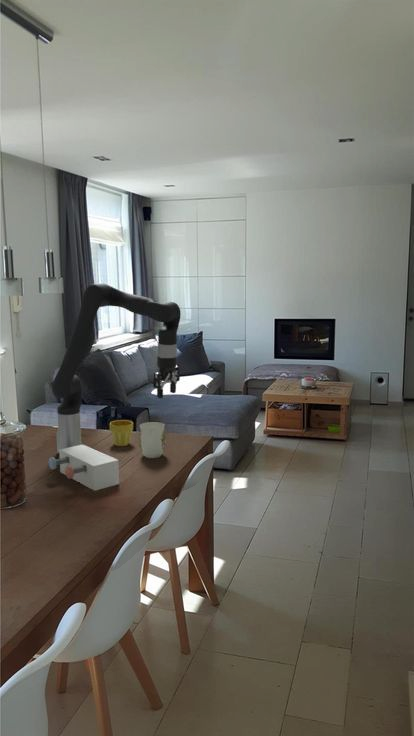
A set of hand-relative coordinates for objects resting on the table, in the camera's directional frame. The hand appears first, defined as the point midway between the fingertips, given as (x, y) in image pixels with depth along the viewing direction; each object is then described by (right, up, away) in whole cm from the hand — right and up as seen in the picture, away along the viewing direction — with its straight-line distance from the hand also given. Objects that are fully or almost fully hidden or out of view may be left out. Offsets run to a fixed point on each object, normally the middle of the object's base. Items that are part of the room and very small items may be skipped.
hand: (166, 395), depth 225 cm
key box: (-28, -30, -10) cm, 43 cm away
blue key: (-38, -26, -11) cm, 47 cm away
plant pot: (-22, -24, +33) cm, 46 cm away
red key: (-29, -28, -20) cm, 45 cm away
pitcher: (-7, -26, +17) cm, 32 cm away
